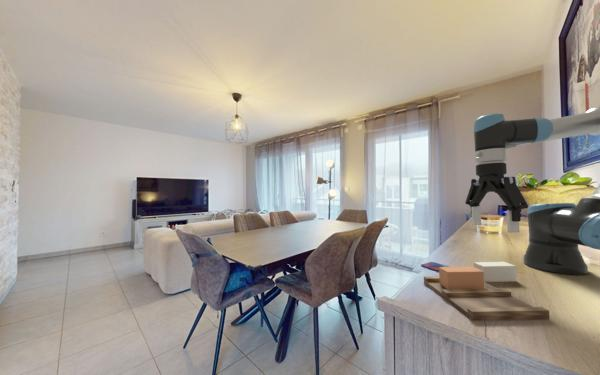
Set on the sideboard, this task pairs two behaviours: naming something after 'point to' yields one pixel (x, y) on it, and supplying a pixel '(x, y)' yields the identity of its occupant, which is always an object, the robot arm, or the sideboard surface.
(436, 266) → the smartphone
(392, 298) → the sideboard surface
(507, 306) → the comb board
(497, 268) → the cream stub
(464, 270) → the terracotta stub
